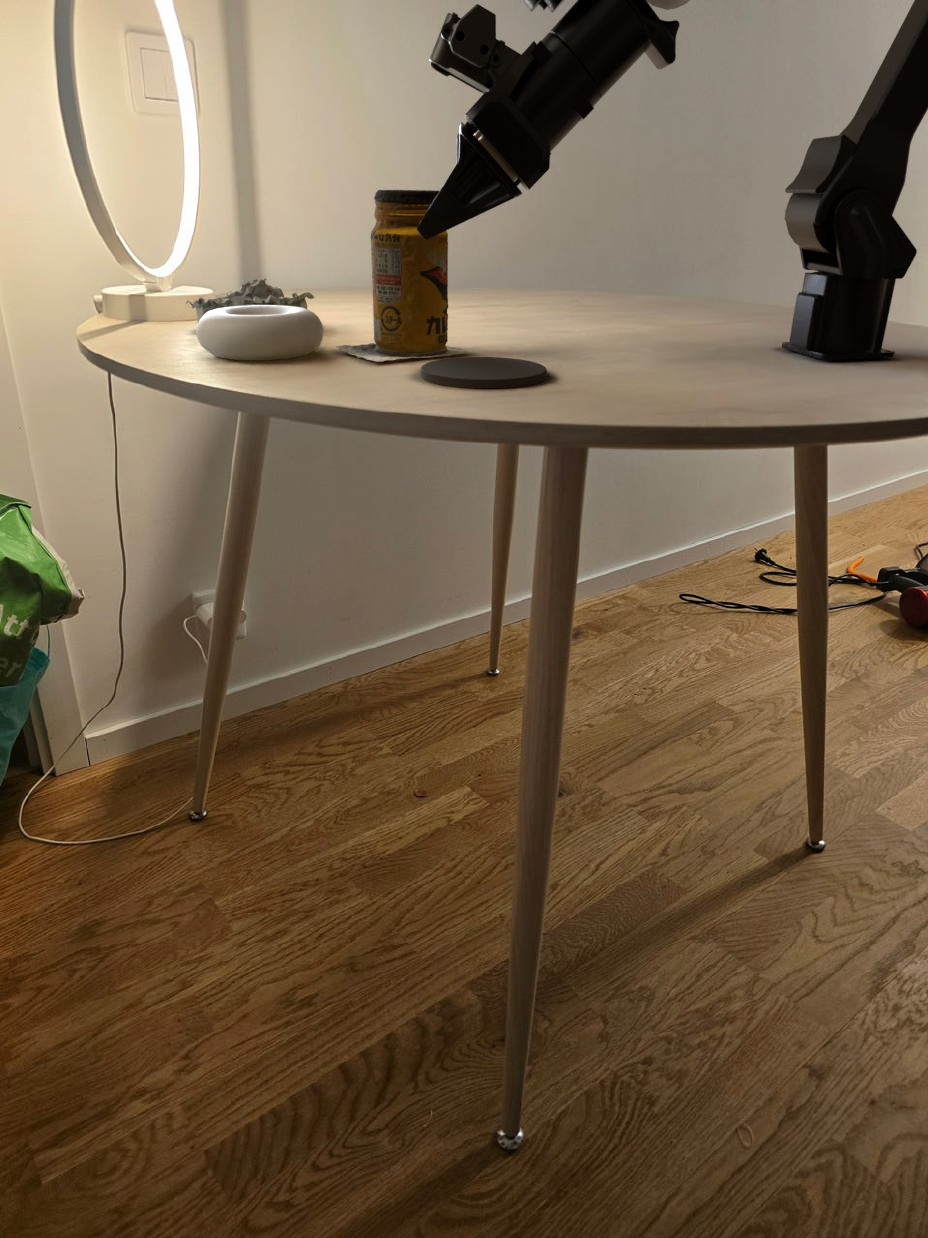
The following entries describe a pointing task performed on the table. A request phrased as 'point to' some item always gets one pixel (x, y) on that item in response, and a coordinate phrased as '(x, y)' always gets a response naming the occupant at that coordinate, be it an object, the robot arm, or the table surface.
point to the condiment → (406, 281)
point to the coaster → (483, 372)
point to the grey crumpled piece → (251, 298)
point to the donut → (259, 332)
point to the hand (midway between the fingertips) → (422, 231)
